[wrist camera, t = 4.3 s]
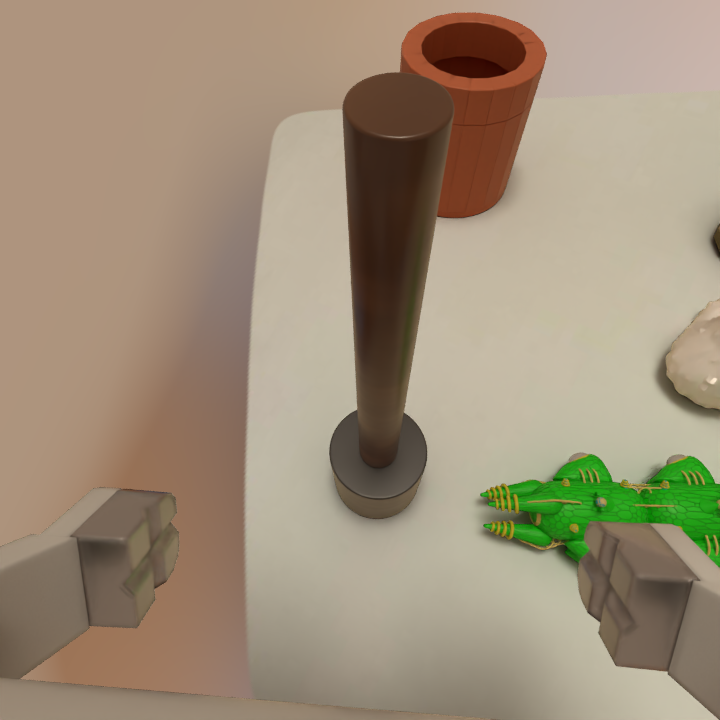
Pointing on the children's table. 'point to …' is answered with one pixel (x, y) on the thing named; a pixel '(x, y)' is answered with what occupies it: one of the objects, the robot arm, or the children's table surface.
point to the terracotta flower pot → (478, 99)
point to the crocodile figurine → (611, 504)
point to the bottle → (717, 237)
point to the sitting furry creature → (698, 359)
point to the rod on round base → (388, 278)
